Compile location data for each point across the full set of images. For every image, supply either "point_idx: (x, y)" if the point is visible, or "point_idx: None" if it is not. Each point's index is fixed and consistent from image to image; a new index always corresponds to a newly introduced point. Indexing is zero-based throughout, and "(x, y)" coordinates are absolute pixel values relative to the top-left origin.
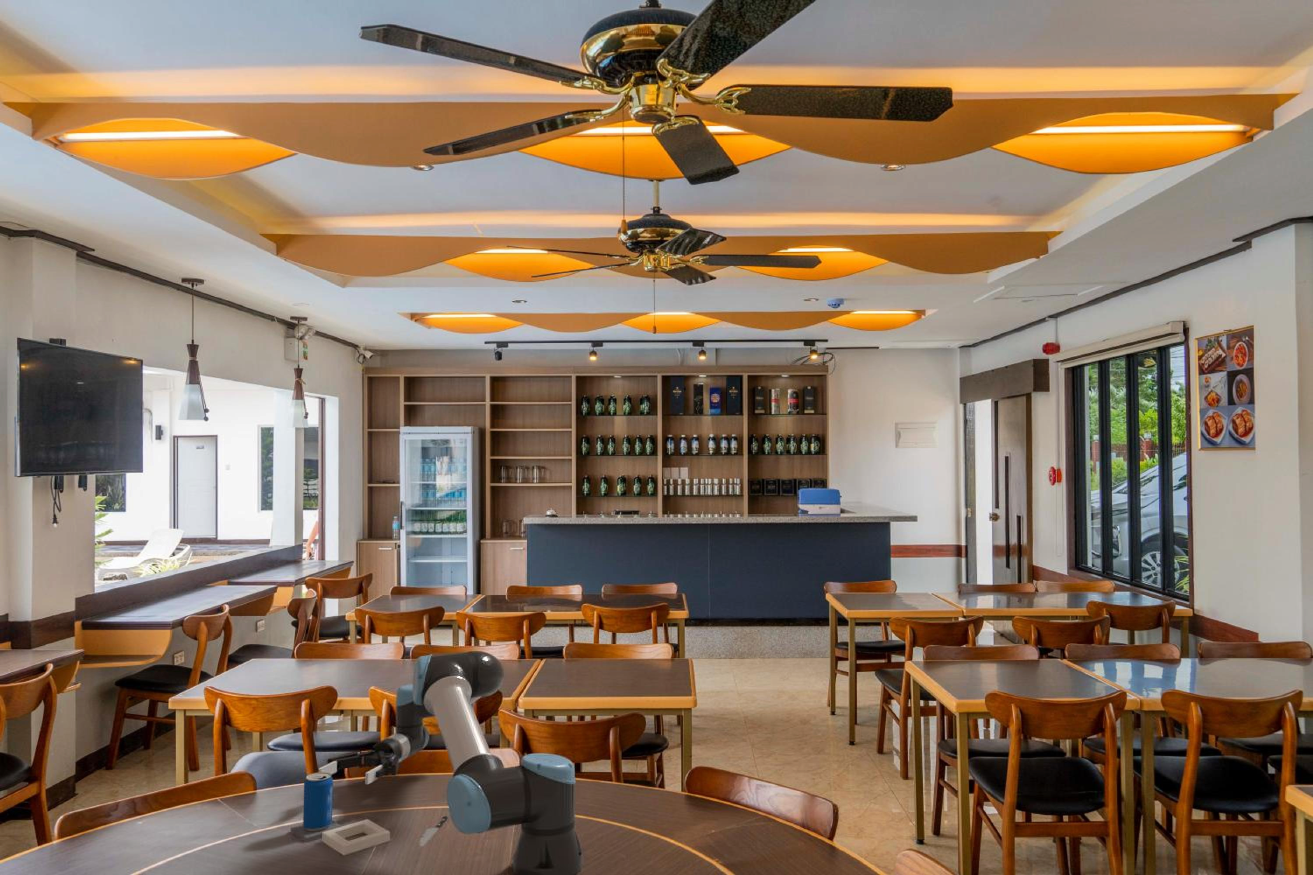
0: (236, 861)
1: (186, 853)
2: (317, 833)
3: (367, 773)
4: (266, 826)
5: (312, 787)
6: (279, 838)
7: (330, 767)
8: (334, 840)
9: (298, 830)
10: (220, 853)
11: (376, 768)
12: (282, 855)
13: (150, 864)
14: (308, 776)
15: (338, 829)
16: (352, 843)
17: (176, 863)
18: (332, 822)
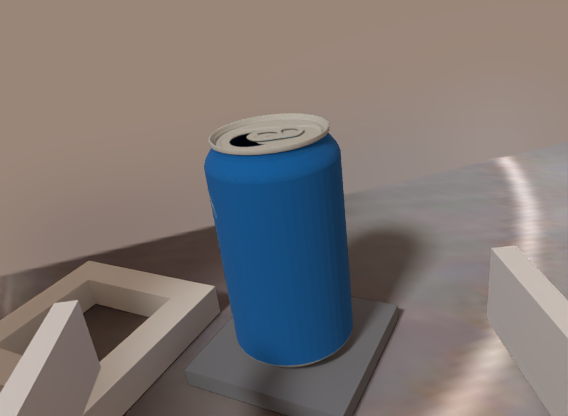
0: (355, 202)
1: (513, 185)
2: None
3: (61, 306)
4: None
5: (258, 144)
6: (380, 282)
7: (555, 354)
8: (137, 271)
9: None
10: (437, 204)
11: (3, 394)
12: None
13: (515, 156)
14: (323, 125)
15: (168, 315)
16: (67, 276)
17: (471, 169)
18: (267, 385)
